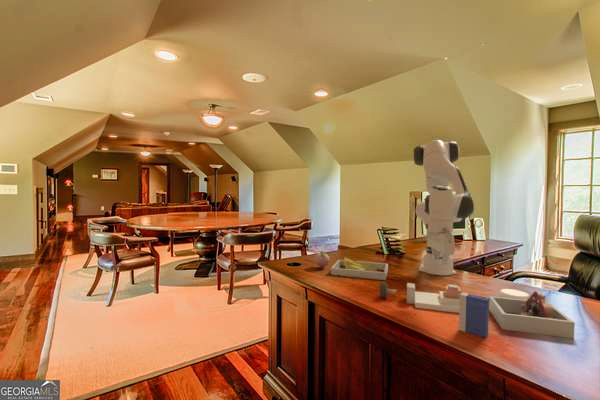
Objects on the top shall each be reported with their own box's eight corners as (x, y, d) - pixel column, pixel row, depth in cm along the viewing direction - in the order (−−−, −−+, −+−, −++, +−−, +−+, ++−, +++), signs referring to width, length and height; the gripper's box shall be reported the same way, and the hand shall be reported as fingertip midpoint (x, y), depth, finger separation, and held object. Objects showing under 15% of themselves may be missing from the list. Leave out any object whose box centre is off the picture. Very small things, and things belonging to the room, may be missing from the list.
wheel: (380, 294, 134) (380, 280, 134) (396, 296, 132) (397, 282, 131) (379, 299, 128) (379, 284, 128) (396, 301, 126) (396, 286, 126)
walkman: (488, 334, 98) (489, 297, 97) (486, 338, 96) (487, 299, 95) (461, 327, 103) (462, 291, 103) (458, 329, 101) (459, 293, 101)
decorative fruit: (312, 266, 182) (312, 249, 181) (325, 265, 184) (325, 248, 184) (317, 270, 173) (317, 252, 172) (331, 269, 175) (331, 252, 175)
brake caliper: (505, 309, 113) (528, 283, 112) (531, 328, 112) (554, 303, 111) (523, 322, 102) (549, 294, 100) (552, 344, 101) (578, 316, 99)
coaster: (515, 306, 123) (516, 297, 123) (494, 297, 133) (494, 289, 132) (535, 303, 126) (535, 295, 125) (512, 295, 135) (512, 287, 135)
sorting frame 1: (338, 265, 185) (338, 259, 185) (387, 269, 176) (388, 263, 176) (330, 274, 165) (330, 268, 165) (385, 280, 156) (385, 273, 156)
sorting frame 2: (488, 309, 119) (489, 296, 119) (548, 316, 113) (549, 302, 113) (502, 329, 102) (502, 313, 102) (573, 338, 96) (574, 322, 96)
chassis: (406, 295, 134) (407, 280, 134) (466, 301, 127) (467, 286, 126) (406, 306, 121) (407, 290, 121) (473, 314, 113) (474, 297, 113)
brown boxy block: (445, 297, 125) (445, 283, 125) (458, 299, 124) (459, 284, 123) (446, 302, 120) (446, 287, 120) (461, 303, 119) (461, 288, 119)
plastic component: (379, 269, 165) (365, 264, 161) (374, 283, 164) (361, 278, 160) (355, 261, 183) (342, 256, 178) (351, 273, 182) (338, 268, 177)
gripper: (460, 230, 112) (459, 268, 112) (439, 224, 132) (438, 256, 133) (442, 230, 112) (441, 268, 113) (424, 224, 133) (423, 256, 133)
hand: (439, 261), depth 123 cm, fingers open, 8 cm apart
